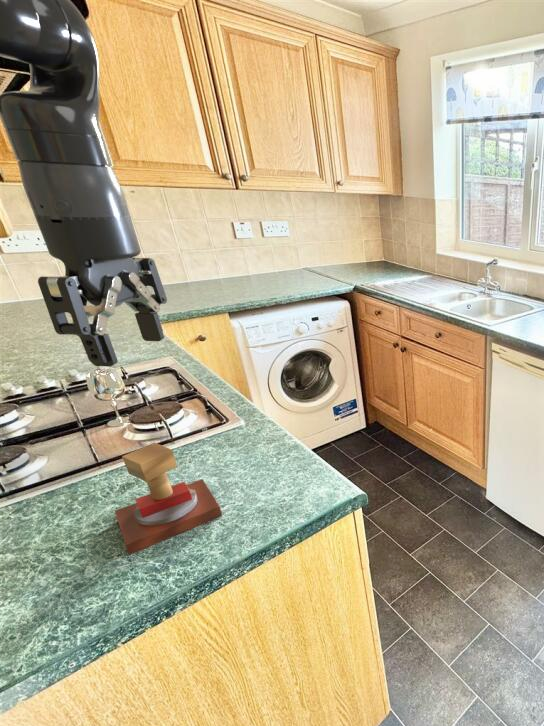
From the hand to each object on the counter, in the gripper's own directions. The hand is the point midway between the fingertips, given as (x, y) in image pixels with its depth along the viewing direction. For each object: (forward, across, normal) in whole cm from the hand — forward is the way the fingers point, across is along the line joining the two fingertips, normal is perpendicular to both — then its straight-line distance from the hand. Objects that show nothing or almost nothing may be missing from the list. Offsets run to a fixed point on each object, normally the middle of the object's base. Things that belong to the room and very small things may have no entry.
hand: (131, 351), depth 52 cm
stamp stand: (+32, -6, -7) cm, 33 cm away
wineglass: (+32, -38, -35) cm, 61 cm away
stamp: (+30, -6, -7) cm, 31 cm away
